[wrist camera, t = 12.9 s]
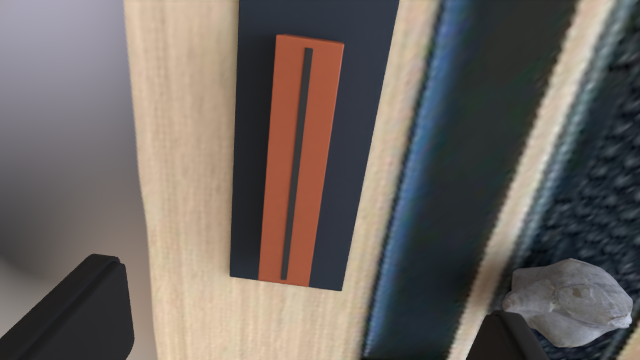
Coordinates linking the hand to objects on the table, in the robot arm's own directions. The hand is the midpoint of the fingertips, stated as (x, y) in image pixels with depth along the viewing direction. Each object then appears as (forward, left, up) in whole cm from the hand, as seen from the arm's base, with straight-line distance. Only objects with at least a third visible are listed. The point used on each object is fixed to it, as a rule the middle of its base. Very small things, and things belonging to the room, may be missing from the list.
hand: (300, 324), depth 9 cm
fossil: (-13, +21, -21) cm, 32 cm away
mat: (+3, +2, -21) cm, 21 cm away
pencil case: (+3, +2, -20) cm, 20 cm away
